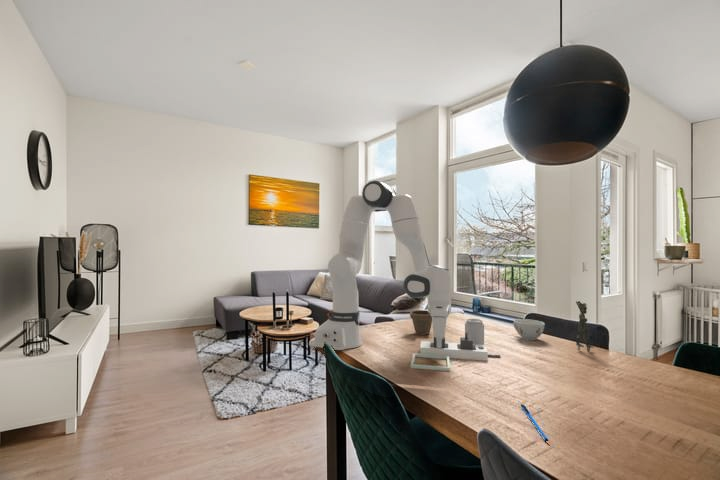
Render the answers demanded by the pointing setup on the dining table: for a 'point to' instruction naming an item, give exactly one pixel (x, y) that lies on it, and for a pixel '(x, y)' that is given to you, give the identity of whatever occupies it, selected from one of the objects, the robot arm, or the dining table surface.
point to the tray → (429, 365)
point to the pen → (534, 421)
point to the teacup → (529, 328)
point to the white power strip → (456, 351)
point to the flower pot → (421, 321)
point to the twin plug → (466, 342)
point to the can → (475, 330)
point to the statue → (582, 326)
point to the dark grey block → (442, 342)
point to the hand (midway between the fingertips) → (439, 343)
